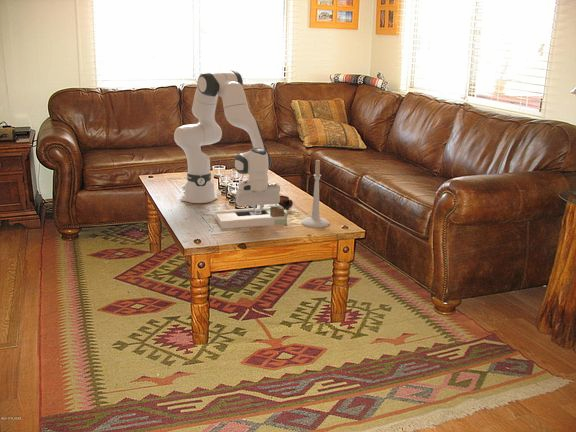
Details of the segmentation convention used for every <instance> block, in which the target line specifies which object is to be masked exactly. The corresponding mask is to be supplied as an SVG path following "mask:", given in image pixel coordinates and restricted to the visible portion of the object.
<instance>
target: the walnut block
mask: <svg viewBox="0 0 576 432" xmlns="http://www.w3.org/2000/svg"><path fill="white" fill-rule="evenodd" d="M270 215H271V217H280V216H284V208H283V207H282V206H281V205H278V206H275V205H270Z"/></svg>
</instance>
